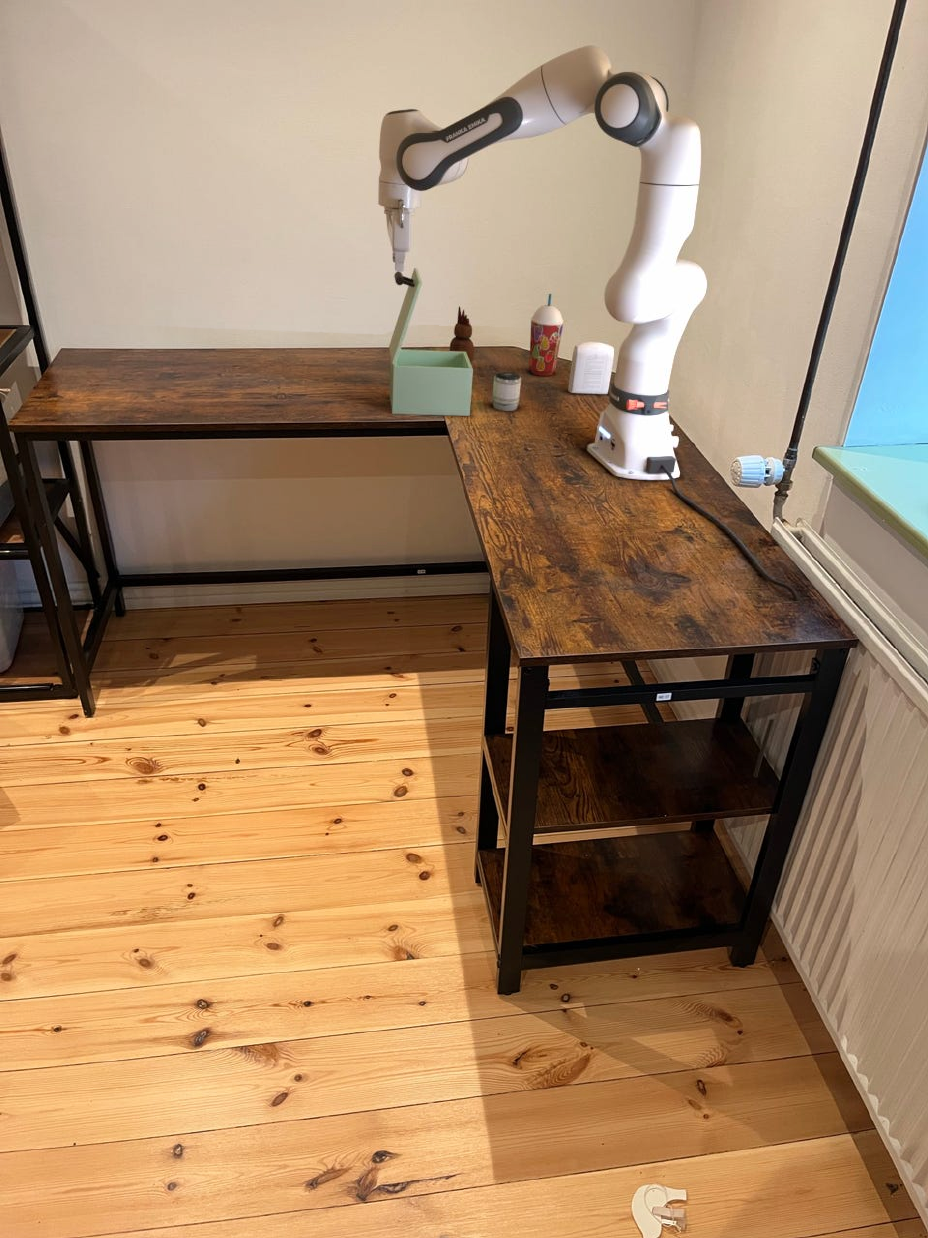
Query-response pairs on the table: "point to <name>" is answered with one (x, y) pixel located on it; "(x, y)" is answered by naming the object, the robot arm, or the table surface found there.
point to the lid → (404, 311)
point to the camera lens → (506, 391)
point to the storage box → (431, 383)
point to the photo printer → (591, 368)
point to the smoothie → (545, 339)
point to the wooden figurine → (463, 336)
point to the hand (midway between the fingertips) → (397, 266)
